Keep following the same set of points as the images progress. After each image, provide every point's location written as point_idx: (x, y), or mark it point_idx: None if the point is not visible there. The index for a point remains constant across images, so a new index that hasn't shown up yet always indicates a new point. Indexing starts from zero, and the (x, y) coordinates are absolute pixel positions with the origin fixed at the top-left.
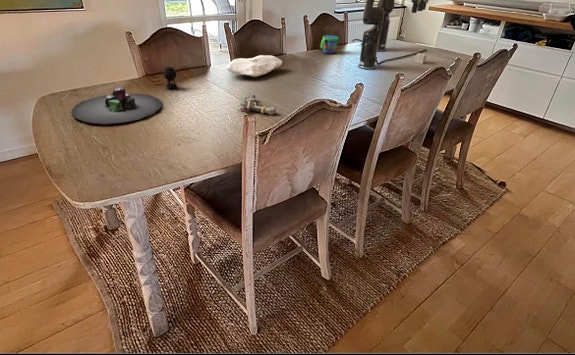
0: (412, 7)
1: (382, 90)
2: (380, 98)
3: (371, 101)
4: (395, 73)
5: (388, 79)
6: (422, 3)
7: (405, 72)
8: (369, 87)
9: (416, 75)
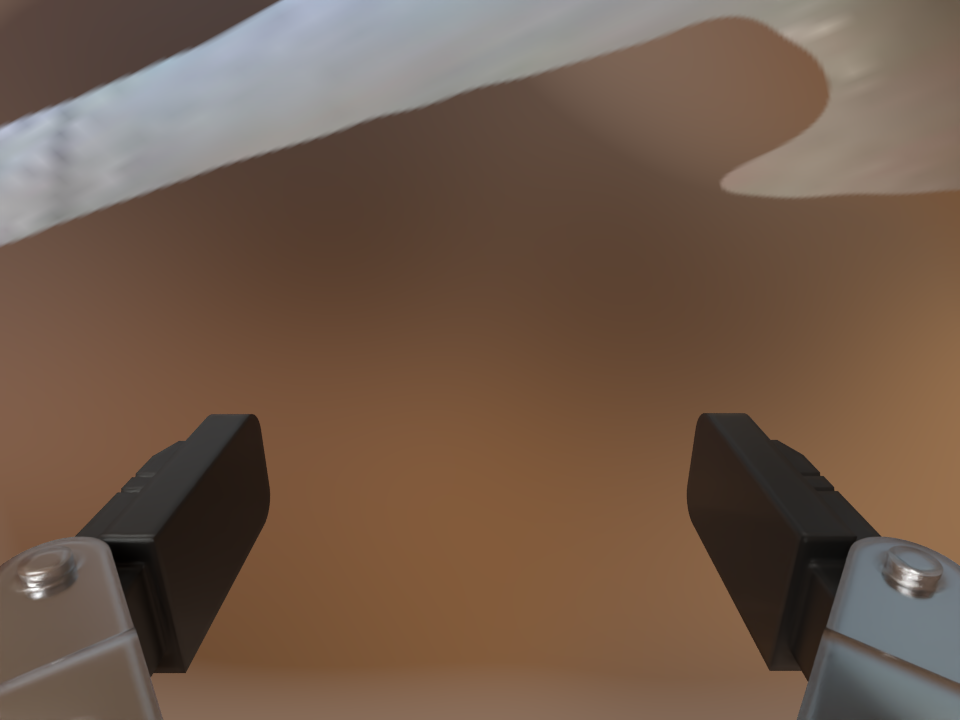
0: (161, 475)
1: (302, 128)
2: (149, 188)
3: (51, 165)
4: (793, 24)
5: (585, 49)
6: (763, 617)
7: (872, 85)
8: (287, 14)
9: (831, 191)
